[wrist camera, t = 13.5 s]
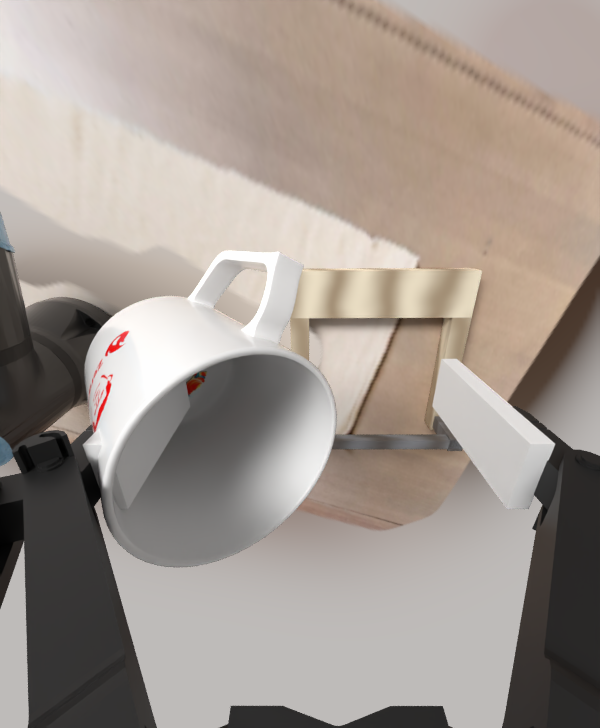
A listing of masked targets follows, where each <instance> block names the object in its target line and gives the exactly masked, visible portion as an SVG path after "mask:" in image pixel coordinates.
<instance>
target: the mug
mask: <svg viewBox="0 0 600 728" xmlns="http://www.w3.org/2000/svg"><path fill="white" fill-rule="evenodd" d="M303 267H304V265H303V264H301V263H300V262H298V261H296V260H294V259H292V258H290V257H288V256H286V255H284V254H283V253H281V252H279V251H278V252H273V253H264V252H245V251H223V252H221V253H220V254H219V255H218V256H217V257H216V258H215V259H214V261H213V262H212V264H211V265H210V267H209V268H208V270H207V272H206V273H205V275H204V276H203V278H202V279H201V281H200V282H199V284H198V285H197V287H196V288H195V290H194V291H193V292H192V294H191V295H190V296H189V297H188V298H186V297H179V296H161V297H154V298H149V299H145V300H142V301H139V302H136V303H134V304H132V305H130V306H128V307H126V308H124V309H122V310H121V311H119V312H118V313H116V314H115V315H114V316H113V317H111V318H110V319H109V320H108V321H107V322H106V323H105V324H104V325H103V326H102V327H101V329H100V330H99V331H98V333H97V334H96V336H95V337H94V339H93V341H92V343H91V345H90V347H89V350H88V353H87V356H86V360H85V367H84V381H85V388H86V395H87V402H88V409H89V417H90V424H91V425H92V426H93V433H95V432H96V431H97V430H98V429H99V431H100V437H101V442H102V446H101V450H100V453H99V458H98V465H97V466H98V481H99V488H100V495H101V503H102V508H103V514H104V518H105V520H106V523H107V526H108V528H109V530H110V532H111V533H112V535H113V537H114V538H115V540H116V541H117V542H118V543H119V545H120V546H122V547H123V548H124V549H125V550H126V551H127V552H128V553H130V554H132V555H133V556H135V557H136V558H138V559H140V560H143V561H145V562H148V563H151V564H154V565H160V566H165V567H191V566H198V565H203V564H208V563H212V562H215V561H219V560H221V559H224V558H227V557H229V556H232V555H234V554H236V553H238V552H240V551H242V550H244V549H246V548H248V547H250V546H251V545H253V544H255V543H256V542H258V541H260V540H261V539H263V538H264V537H266V536H267V535H268V534H270V533H271V532H272V531H274V530H275V529H276V528H277V527H278V526H280V525H281V524H282V523H283V522H284V521H285V520H286V519H287V518H288V517H289V516H290V515H291V514H292V513H293V512H294V511H295V510H296V509H297V508H298V507H299V506H300V504H301V503H302V502H303V501H304V500H305V498H306V497H307V496H308V494H309V493H310V492H311V490H312V489H313V487H314V486H315V484H316V482H317V481H318V479H319V477H320V476H321V474H322V472H323V470H324V468H325V465H326V463H327V461H328V458H329V456H330V453H331V450H332V446H333V443H334V438H335V432H336V421H337V417H336V405H335V400H334V396H333V393H332V390H331V387H330V385H329V383H328V381H327V380H326V378H325V377H324V375H323V374H322V373H321V371H320V370H319V369H318V368H317V367H316V366H315V365H314V364H312V363H311V362H310V361H309V360H307V359H306V358H304V357H303V356H301V355H299V354H297V353H295V352H293V351H292V350H290V349H288V348H286V347H284V346H282V345H281V344H279V343H280V339H281V335H282V333H283V331H284V329H285V327H286V326H287V324H288V322H289V320H290V318H291V315H292V312H293V309H294V305H295V300H296V295H297V290H298V285H299V280H300V277H301V273H302V270H303ZM245 269H250V270H257V271H265V272H268V277H267V283H266V288H265V292H264V295H263V299H262V302H261V305H260V307H259V310H258V312H257V314H256V315H255V317H254V318H253V320H252V321H251V322H250V323H249V324H248V325H247V326H246V325H244V324H242V323H240V322H238V321H237V320H235V319H233V318H231V317H229V316H228V315H226V314H224V313H222V312H220V311H218V310H217V309H215V308H214V307H215V304H216V302H217V301H218V299H219V298H220V297H221V295H222V294H223V293H224V291H225V290H226V289H227V287H228V286H229V285H230V283H231V282H232V281H233V279H234V278H235V277H236V276H237V275H238V274H239V273H240V272H241V271H243V270H245ZM184 380H186V386H187V391H188V397H189V403H190V408H189V409H188V411H187V413H186V414H185V416H184V418H183V419H182V421H181V423H180V424H179V426H178V427H177V429H176V431H175V432H174V434H173V436H172V437H171V439H170V441H169V442H168V444H167V446H166V447H165V449H164V451H163V452H162V454H161V455H160V457H159V459H158V460H157V462H156V464H155V465H154V467H153V469H152V470H151V472H150V474H149V475H148V477H147V479H146V480H145V482H144V483H143V485H142V487H141V488H140V490H139V492H138V493H137V495H136V497H135V498H134V500H133V502H132V503H131V505H130V507H129V508H128V509H120V508H119V506H118V505H117V503H116V501H115V499H114V497H113V483H114V476H115V472H116V468H117V465H118V462H119V459H120V456H121V454H122V452H123V450H124V447H125V445H126V443H127V441H128V440H129V438H130V436H131V435H132V433H133V431H134V430H135V428H136V427H137V426H138V424H139V423H140V422H141V420H142V419H143V418H144V416H145V415H146V414H147V413H148V412H149V411H150V410H151V408H152V407H153V406H154V405H155V404H156V403H157V402H158V401H159V400H160V399H162V398H163V397H164V396H165V395H166V394H167V393H168V392H169V391H171V390H172V389H173V388H175V387H176V386H177V385H178V384H180V383H181V382H183V381H184Z"/></svg>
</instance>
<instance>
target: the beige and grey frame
mask: <svg viewBox="0 0 600 728" xmlns="http://www.w3.org/2000/svg"><path fill="white" fill-rule="evenodd" d="M481 274H482V270H478V269H474V268H385V269H303V270H302V273H301V277H300V280H299V285H298V290H297V295H296V300H295V305H294V309H293V312H292V315H291V318H290V326H291V350H292V351H293V352H295V353H297V354H299V355H301V356H303V357H304V358H306V359H307V360H309V318H444V320H443V325H442V330H441V336H440V341H439V346H438V352H437V357H436V362H435V368H434V373H433V378H432V383H431V389H430V394H429V399H428V405H427V410H426V415H425V422H426V424H427V426H428V427H429V429H430V430H434V431H435V432H436V434H437V435H335V438H334V443H333V446H332V449H447V451H462V449H463V448H462V447H461V445H460V444H459V442H458V441H457V440H456V438H455V437H454V435H453V434H452V433H451V431H450V430H449V429H448V427H447V426H446V424H445V423H444V422H443V420H442V419H441V417H440V416H439V415H438V413H437V412H436V411H435V409H434V408H433V406H432V405H433V400H434V394H435V389H436V384H437V379H438V374H439V369H440V364H441V359H458V360H459V361H460V362H461V363H462V358H463V354H464V349H465V345H466V341H467V336H468V332H469V327H470V323H471V318H472V314H473V309H474V305H475V301H476V296H477V292H478V287H479V283H480V278H481Z"/></svg>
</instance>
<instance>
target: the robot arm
mask: <svg viewBox="0 0 600 728" xmlns="http://www.w3.org/2000/svg"><path fill="white" fill-rule="evenodd" d="M13 253H15V250H14V248H13V247H12V246H11V245H10V243H9V239H8V236H7V232H6V229H5V226H4V222H3V219H2V215H1V213H0V466H2V465H4V464H6V463H7V462H9V461H10V460H11V459H12V458H13V457H14V458H15V460H16V462H17V464H18V466H19V468H20V470H21V472H22V473H20V474H15V475H10V476H5V477H1V478H0V608H1V605H2V603H3V599H4V597H5V594H6V591H7V588H8V585H9V582H10V579H11V577H12V574H13V571H14V568H15V565H16V562H17V559H18V556H19V553H20V551H21V548H22V545H23V542H24V549H25V588H26V623H27V624H26V626H27V663H28V699H29V700H28V701H29V724H28V728H157V727H156V723H155V720H154V716H153V713H152V710H151V706H150V702H149V699H148V695H147V692H146V688H145V684H144V681H143V677H142V674H141V670H140V667H139V663H138V660H137V656H136V653H135V649H134V645H133V642H132V638H131V635H130V631H129V627H128V624H127V620H126V617H125V613H124V609H123V606H122V602H121V599H120V595H119V592H118V588H117V584H116V581H115V578H114V574H113V570H112V567H111V563H110V559H109V556H108V552H107V549H106V545H105V542H104V538H103V534H102V531H101V527H100V524H99V520H98V517H97V513H96V511H95V508H94V506H95V504H96V503H97V502H98V500H99V499H100V498H101V495H100V488H99V481H98V466H97V465H98V458H99V453H100V450H101V446H102V442H101V437H100V431H99V429H98V430H97V431H96V432H95V433H93V426H92V425H90V426H89V427H88V428H87V429H86V431H84V432H83V433H82V434H81V435H80V436H79V437H78V438H77V439H76V440H75V441H74V442H73V443H72V444H70V442H69V439H68V437H67V434H66V433H65V432H63V431H59V430H54V431H46V432H44V431H45V430H46V429H47V428H49V427H50V426H51V425H52V424H53V423H55V422H56V421H57V420H58V419H59V418H61V417H62V416H63V415H64V414H65V413H66V412H68V411H69V410H70V409H72V408H73V407H76V406H79V405H82V404H85V403H88V402H87V395H86V388H85V381H84V367H85V360H86V356H87V353H88V350H89V347H90V345H91V343H92V341H93V339H94V337H95V336H96V334H97V333H98V331H99V330H100V329H101V327H102V326H103V325H104V324H105V323H106V322H107V321H108V320H109V319H110V317H109V316H108V315H107V314H106V313H104V312H103V311H102V310H100V309H99V308H97V307H95V306H93V305H92V304H89V303H87V302H85V301H82V300H78V299H74V298H67V297H57V298H51V299H47V300H44V301H40V302H37V303H34V304H32V305H30V306H28V307H27V308H25V305H24V301H23V296H22V292H21V287H20V283H19V278H18V274H17V269H16V265H15V260H14V256H13ZM432 406H433V408H434V409H435V411H436V412H437V413H438V415H439V416H440V417H441V419H442V420H443V422H444V423H445V424H446V426H447V427H448V429H449V430H450V431H451V433H452V434H453V435H454V437H455V438H456V440H457V441H458V442H459V444H460V445H461V447H462V448H463V449H464V451H465V452H466V453H467V455H468V456H469V458H470V459H471V460H472V462H473V463H474V465H475V466H476V467H477V469H478V470H479V471H480V473H481V474H482V475H483V477H484V478H485V480H486V481H487V483H488V484H489V485H490V487H491V488H492V490H493V491H494V492H495V493H496V495H497V496H498V498H499V499H500V500H501V502H502V503H503V505H504V506H505V508H506V509H529V507H530V505H531V502H532V500H533V497H534V495H535V496H536V497H537V499H538V500H539V501H540V502H541V503H542V504H543V505H542V507H541V510H540V512H539V514H538V517H537V519H536V521H535V524H534V526H533V529H534V530H536V535H535V540H534V546H533V552H532V558H531V565H530V570H529V576H528V582H527V588H526V593H525V599H524V605H523V612H522V617H521V623H520V629H519V635H518V641H517V647H516V652H515V658H514V664H513V670H512V677H511V682H510V688H509V694H508V700H507V706H506V711H505V717H504V722H503V726H502V728H600V456H598V455H596V454H593V453H591V452H587V451H582V450H573V449H572V448H571V447H569V446H568V445H567V444H566V443H565V442H563V441H562V440H561V439H560V438H558V437H557V436H556V435H555V434H554V433H552V432H551V431H550V430H547V428H546V427H545V426H544V425H543V424H542V423H539V421H538V420H537V419H535V418H534V417H533V416H532V415H531V414H530V413H528V412H526V411H524V410H522V409H520V408H518V407H516V406H514V407H512V406H511V405H510V404H508V403H507V402H506V401H505V400H504V399H503V398H502V397H500V396H499V395H498V394H497V393H496V392H495V391H493V390H492V389H491V388H490V387H489V386H488V385H487V384H485V383H484V382H483V381H482V380H481V379H480V378H478V377H477V376H476V375H475V374H474V373H473V372H471V371H470V370H469V369H468V368H467V367H466V366H465V365H463V364H462V363H461V362H460V361H459V360H458V359H441V364H440V369H439V374H438V379H437V384H436V389H435V394H434V400H433V405H432ZM189 408H190V403H189V397H188V391H187V386H186V380H184V381H183V382H181V383H180V384H178V385H177V386H176V387H175V388H173V389H172V390H171V391H169V392H168V393H167V394H166V395H165V396H164V397H163V398H162V399H160V400H159V401H158V402H157V403H156V404H155V405H154V406H153V407H152V408H151V410H150V411H149V412H148V413H147V414H146V415H145V416H144V418H143V419H142V420H141V422H140V423H139V424H138V426H137V427H136V428H135V430H134V431H133V433H132V435H131V436H130V438H129V440H128V441H127V443H126V445H125V447H124V450H123V452H122V454H121V456H120V459H119V462H118V465H117V468H116V472H115V476H114V483H113V497H114V499H115V501H116V503H117V505H118V506H119V508H120V509H128V508H129V507H130V505H131V503H132V502H133V500H134V498H135V497H136V495H137V493H138V492H139V490H140V488H141V487H142V485H143V483H144V482H145V480H146V479H147V477H148V475H149V474H150V472H151V470H152V469H153V467H154V465H155V464H156V462H157V460H158V459H159V457H160V455H161V454H162V452H163V451H164V449H165V447H166V446H167V444H168V442H169V441H170V439H171V437H172V436H173V434H174V432H175V431H176V429H177V427H178V426H179V424H180V423H181V421H182V419H183V418H184V416H185V414H186V413H187V411H188V409H189ZM220 728H452V727H450V726H448V722H447V719H446V716H445V712H444V709H443V706H390V707H387V708H385V709H382V710H380V711H377V712H375V713H372V714H370V715H368V716H365V717H363V718H360V719H358V720H355V721H353V722H350V723H348V724H345V725H342V726H334V725H331V724H328V723H326V722H323V721H320V720H318V719H315V718H313V717H310V716H307V715H305V714H302V713H300V712H297V711H295V710H292V709H289V708H287V707H284V706H231V709H230V716H229V723H228V724H227V725H225V726H222V727H220Z"/></svg>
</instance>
